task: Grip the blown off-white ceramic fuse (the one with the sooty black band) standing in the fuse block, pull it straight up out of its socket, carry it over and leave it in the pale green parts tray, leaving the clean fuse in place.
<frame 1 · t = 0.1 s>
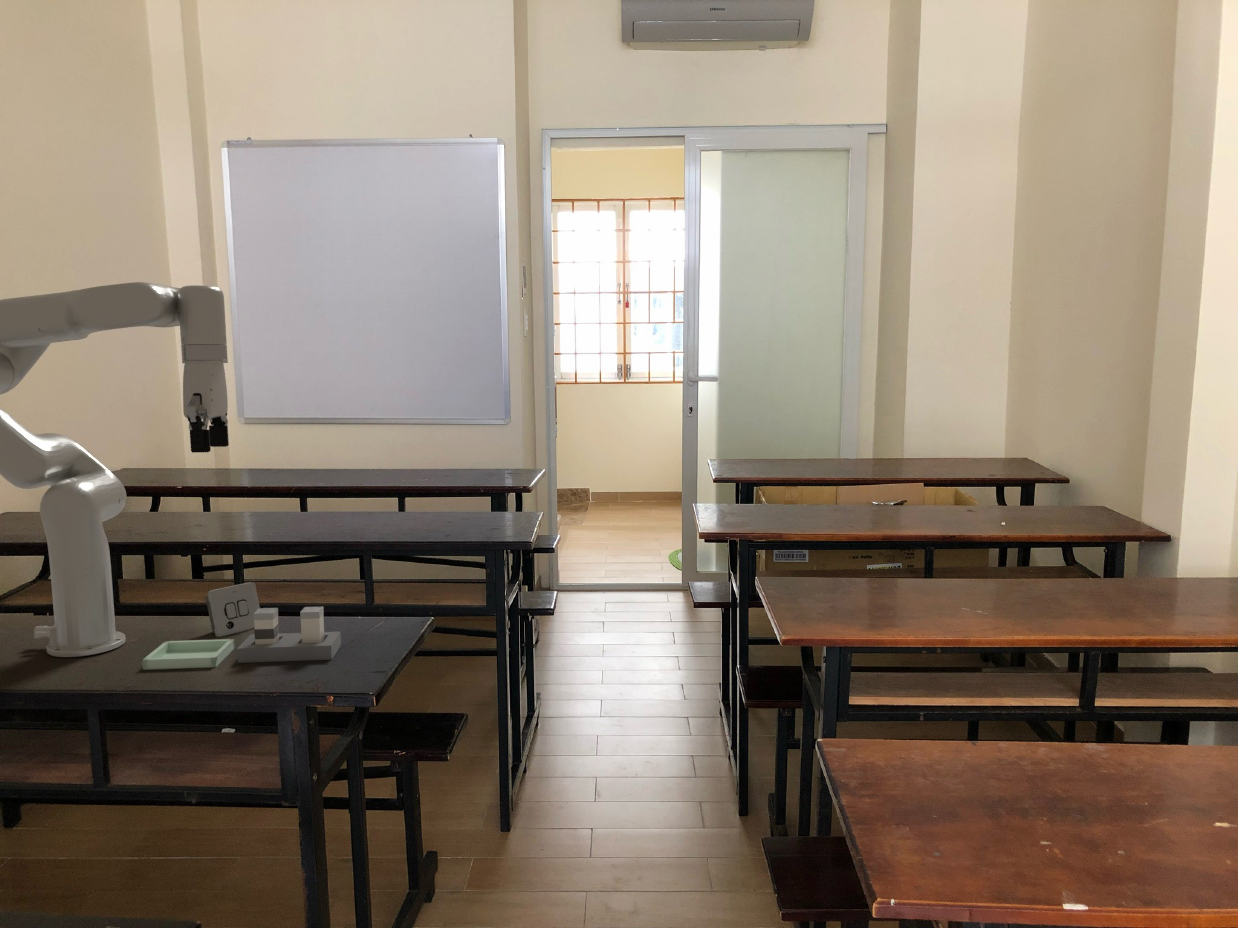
hand: (210, 449, 164), 37 cm above the table, tool pointing down, fingers open, 9 cm apart
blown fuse: (268, 653, 160), resting on fuse block
parts tray: (190, 660, 158), on the table
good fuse: (313, 652, 161), resting on fuse block
electrical switch: (233, 632, 175), on the table
fuse block: (291, 655, 161), on the table
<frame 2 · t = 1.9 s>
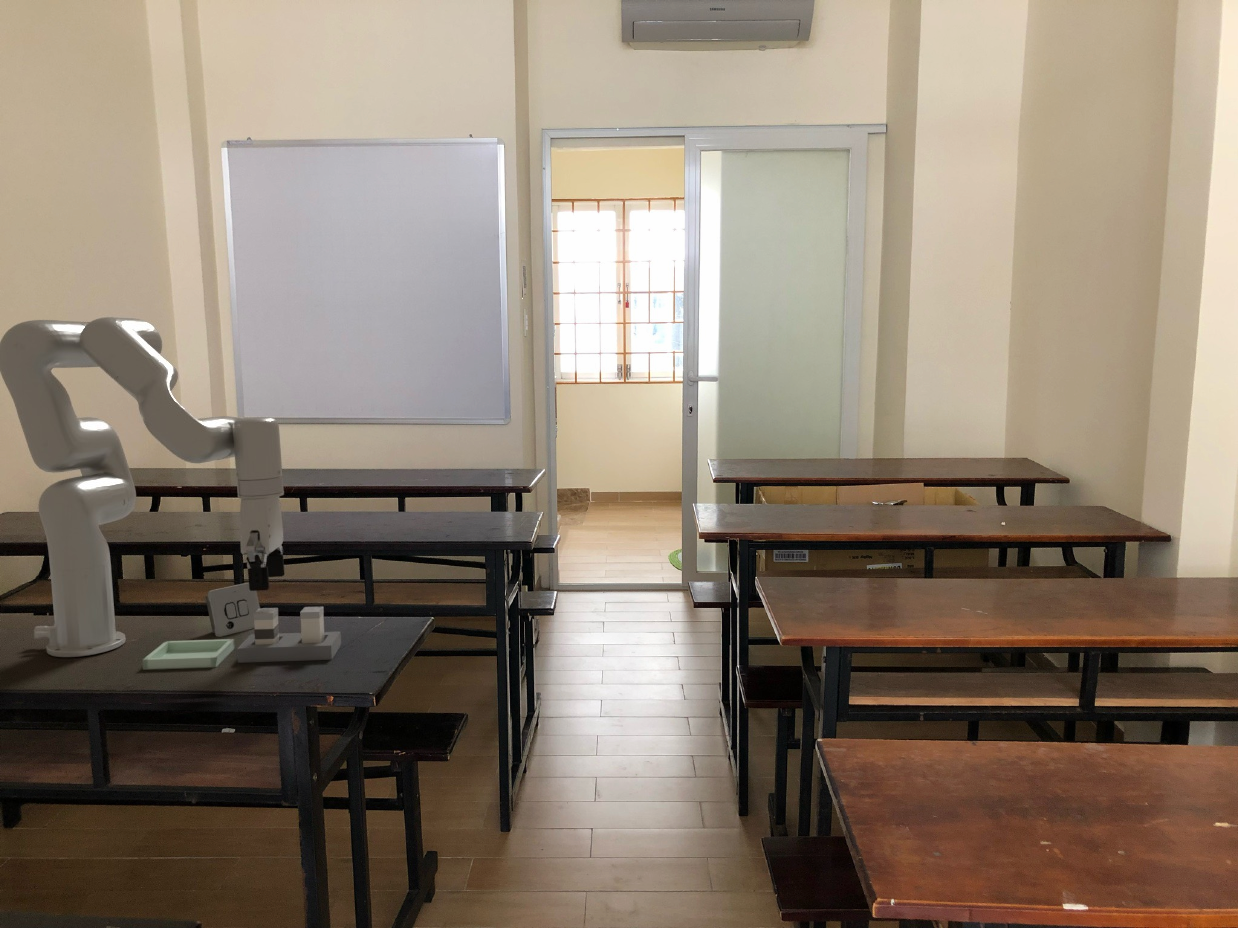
hand: (267, 582, 159), 14 cm above the table, tool pointing down, fingers open, 9 cm apart
nothing on the table moved.
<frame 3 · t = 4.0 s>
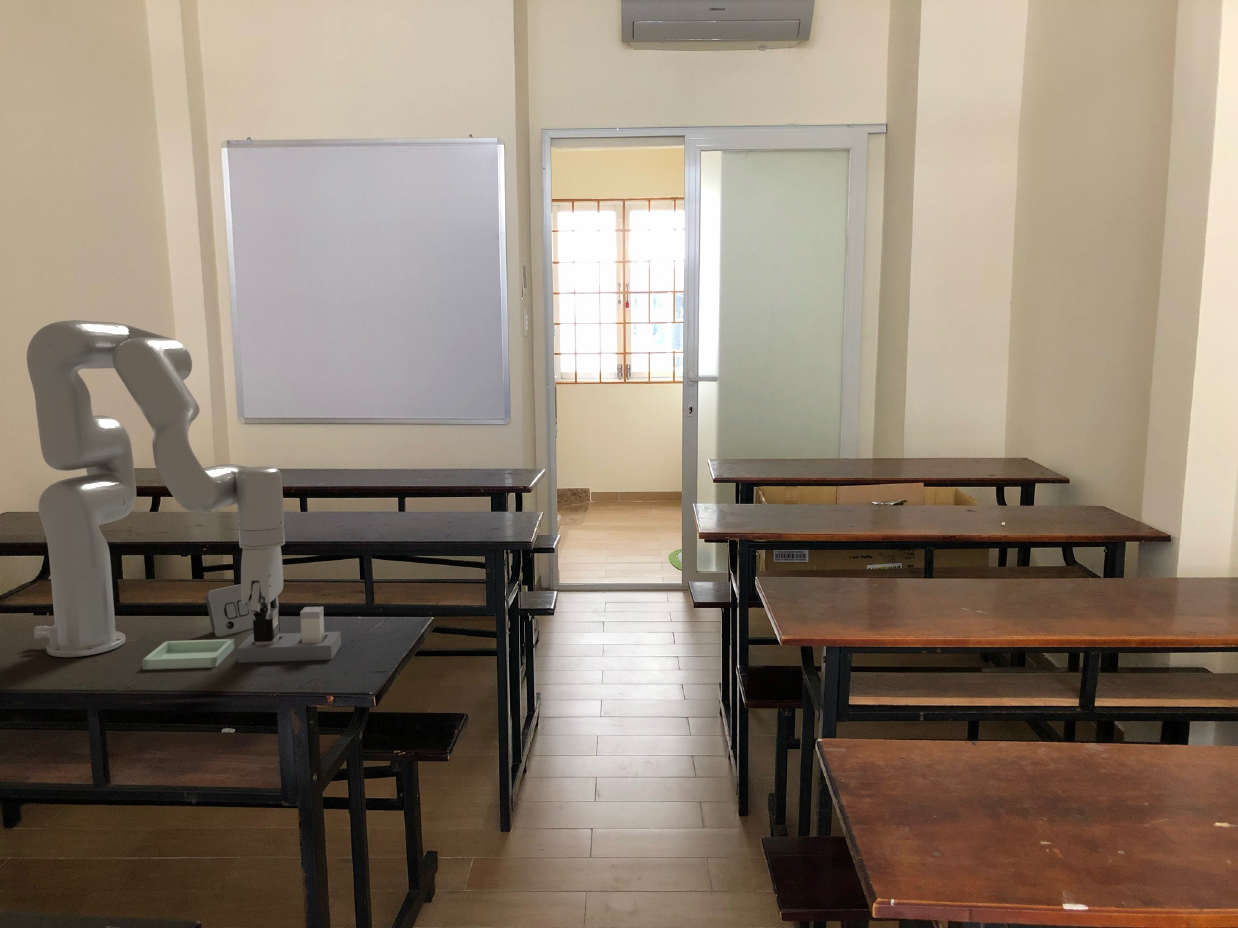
hand: (267, 636, 160), 4 cm above the table, tool pointing down, fingers closed on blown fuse, 3 cm apart
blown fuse: (268, 653, 160), point 1 cm above the table, touching fuse block, gripper
everything else where it was.
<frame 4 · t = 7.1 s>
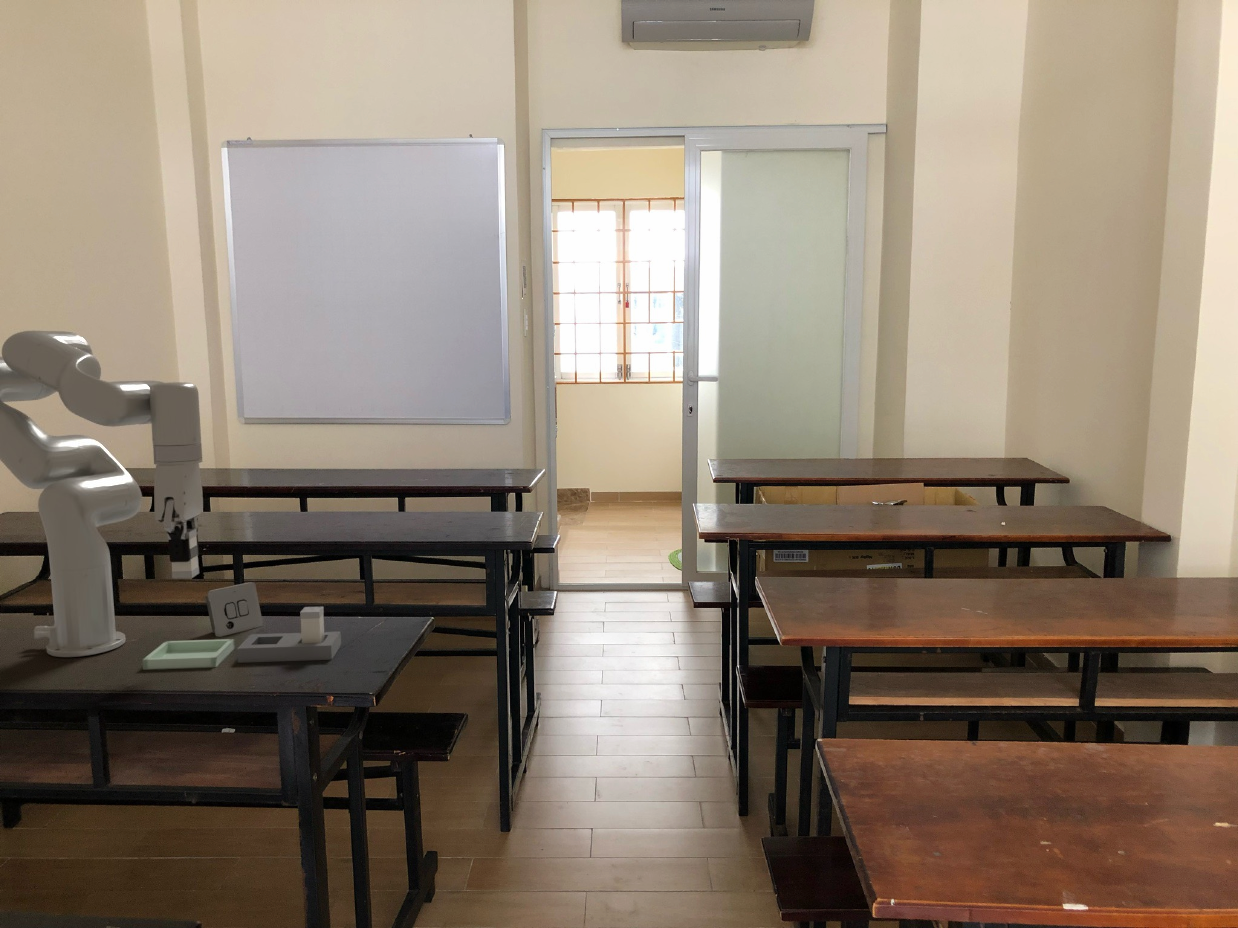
hand: (184, 557, 156), 19 cm above the table, tool pointing down, fingers closed on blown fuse, 3 cm apart
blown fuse: (185, 575, 156), point 15 cm above the table, touching gripper
everything else where it was.
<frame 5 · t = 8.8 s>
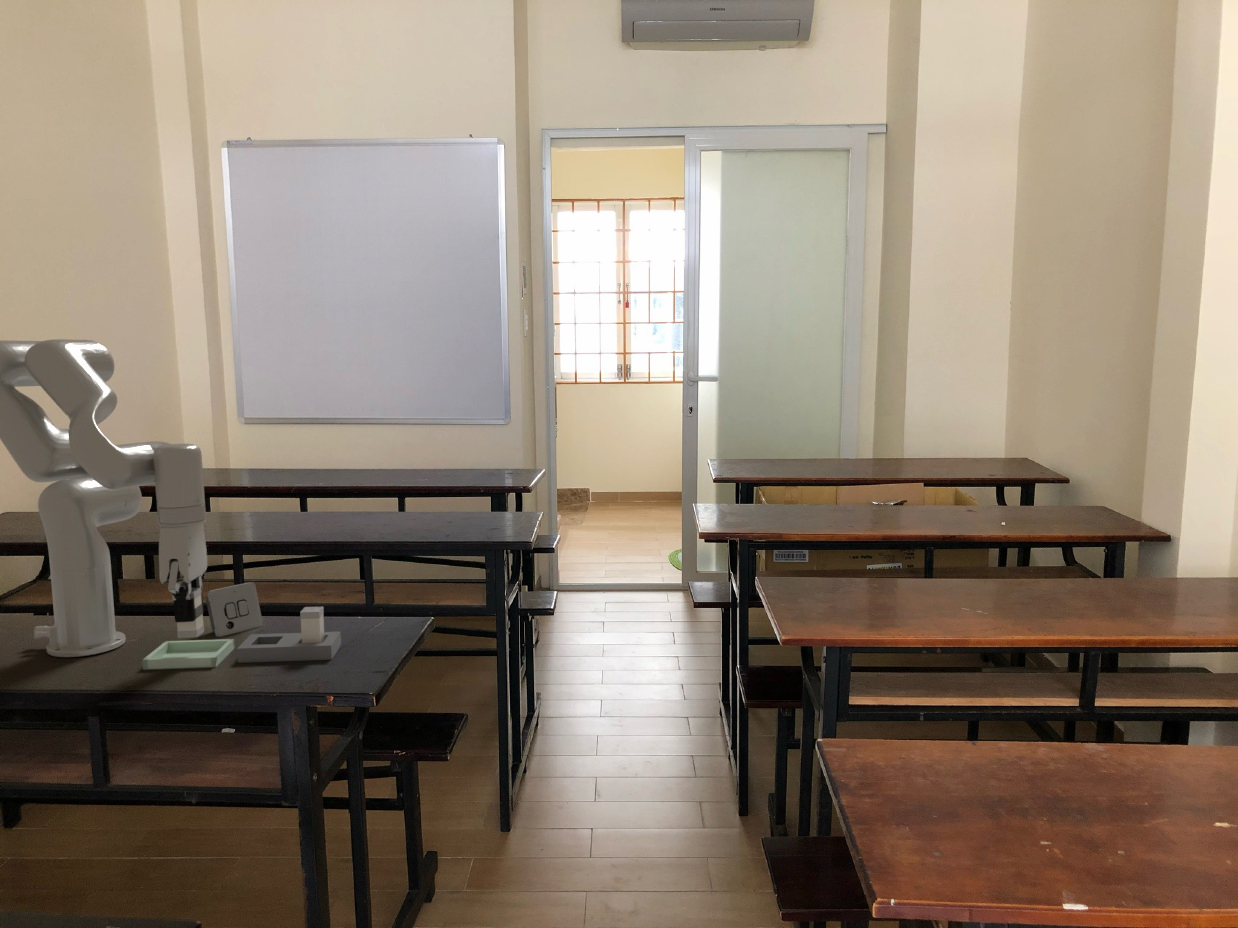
hand: (189, 617, 157), 8 cm above the table, tool pointing down, fingers closed on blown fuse, 3 cm apart
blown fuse: (191, 634, 157), point 5 cm above the table, touching gripper
everything else where it was.
when the fingers open (5 cm above the table, at t = 10.2 s): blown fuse stays where it is, resting on parts tray.
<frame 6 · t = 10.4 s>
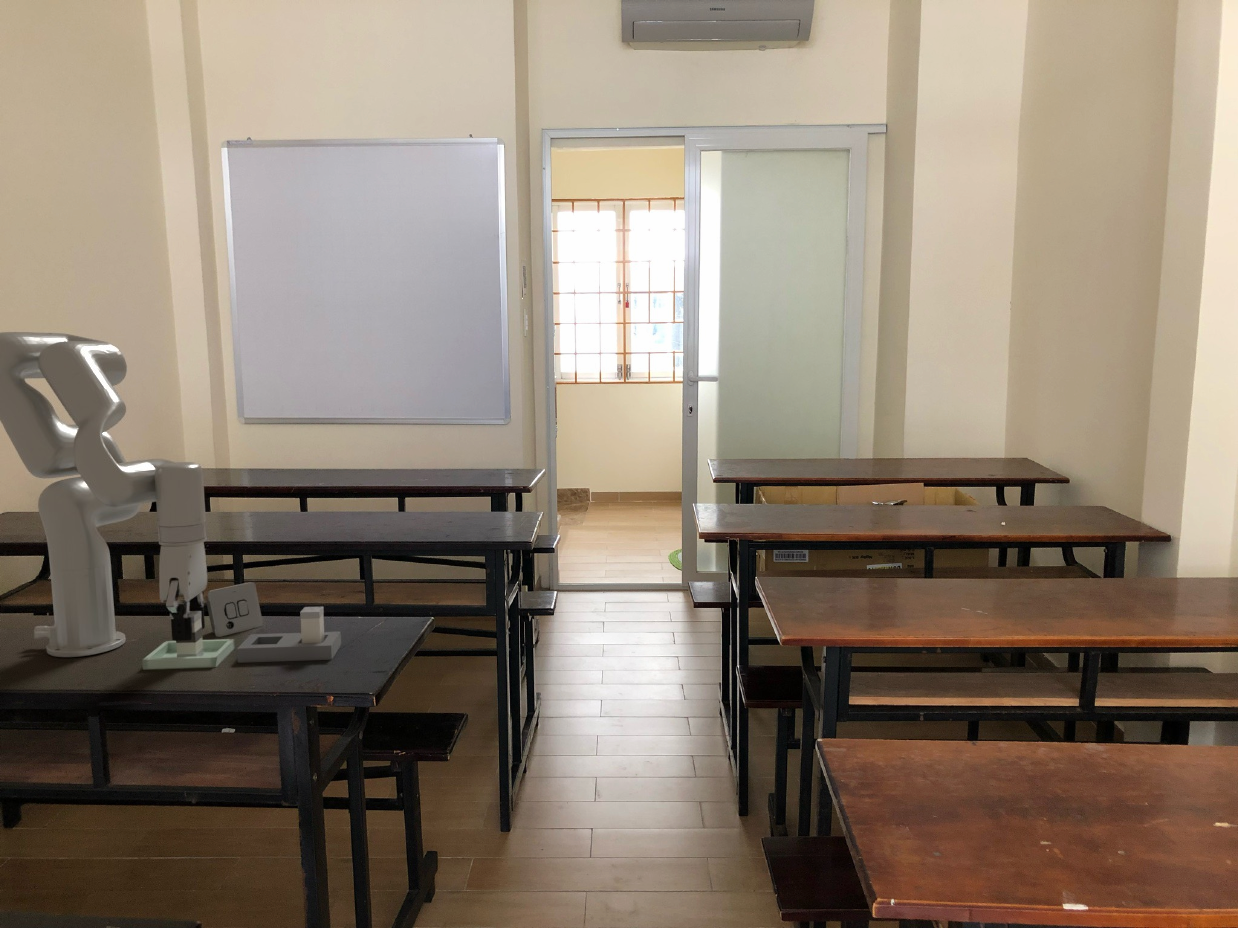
hand: (188, 633, 158), 5 cm above the table, tool pointing down, fingers open, 5 cm apart
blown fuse: (190, 657, 158), point 1 cm above the table, touching parts tray
everything else where it was.
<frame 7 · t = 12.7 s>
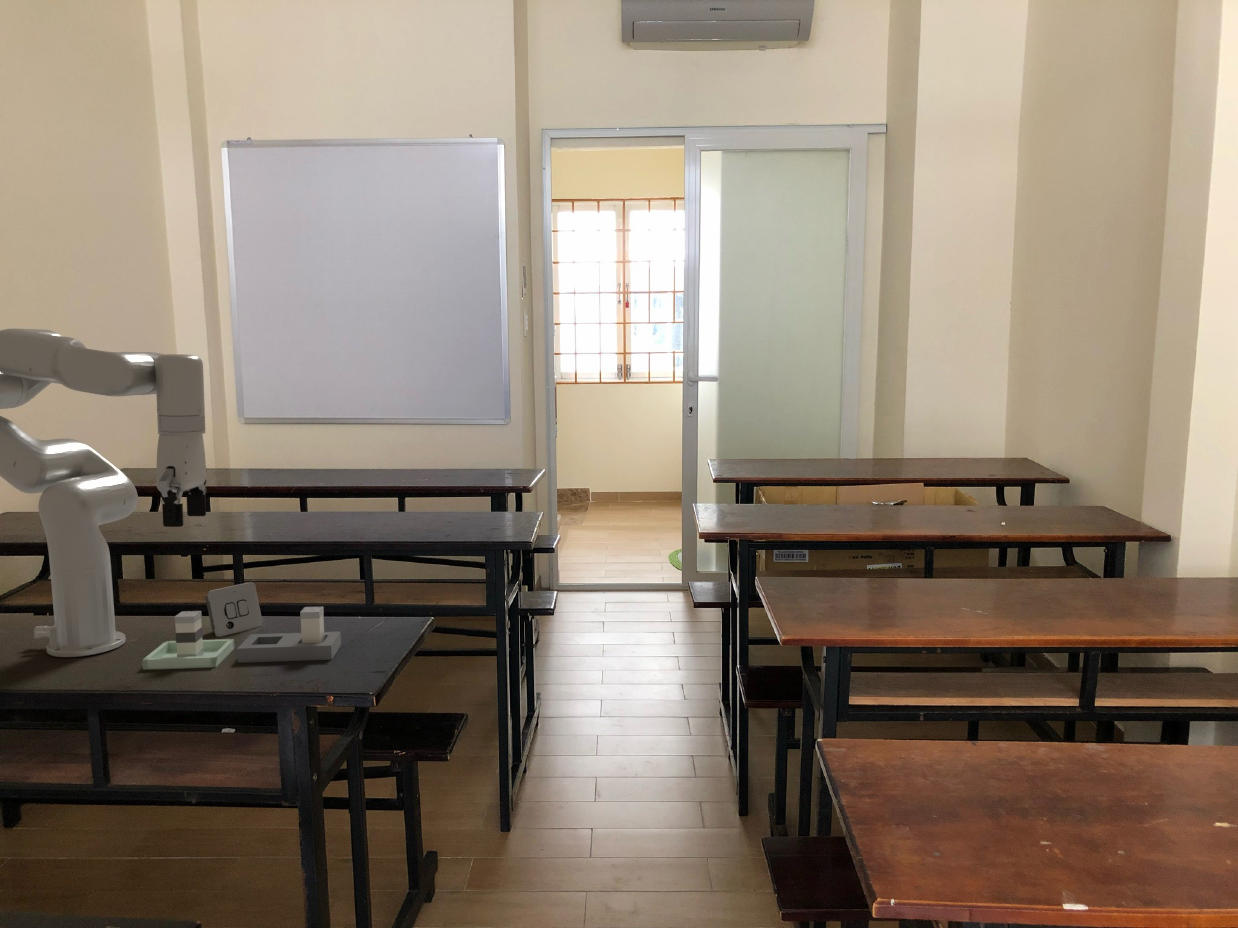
hand: (185, 520, 159), 25 cm above the table, tool pointing down, fingers open, 9 cm apart
nothing on the table moved.
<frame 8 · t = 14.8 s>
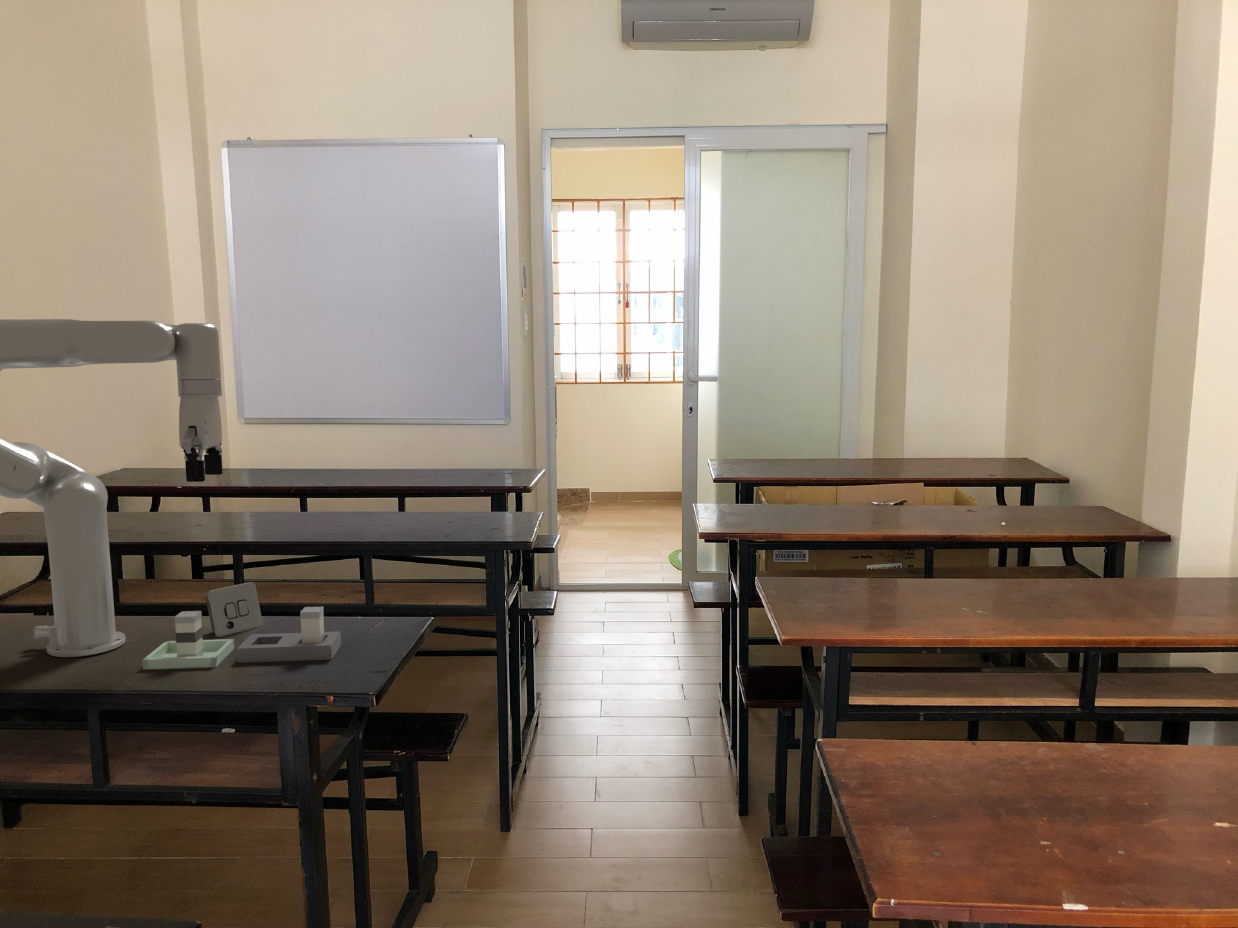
hand: (205, 477, 172), 30 cm above the table, tool pointing down, fingers open, 9 cm apart
nothing on the table moved.
at the end: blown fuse inside the target area on the parts tray (0.0 cm from its centre), point 0.6 cm above the parts tray's base; the gripper is holding nothing; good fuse moved 0.0 cm from its start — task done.
